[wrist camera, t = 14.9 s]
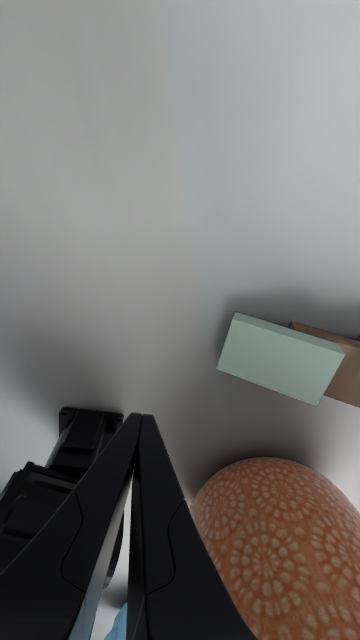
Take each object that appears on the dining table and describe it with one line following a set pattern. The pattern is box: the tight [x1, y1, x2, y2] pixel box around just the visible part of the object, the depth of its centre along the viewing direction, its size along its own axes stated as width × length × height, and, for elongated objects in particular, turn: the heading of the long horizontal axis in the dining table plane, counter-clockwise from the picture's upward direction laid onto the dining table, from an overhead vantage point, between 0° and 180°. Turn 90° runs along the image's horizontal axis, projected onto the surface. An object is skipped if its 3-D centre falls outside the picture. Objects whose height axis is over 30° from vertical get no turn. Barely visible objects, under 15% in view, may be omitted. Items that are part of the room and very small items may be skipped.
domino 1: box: [216, 312, 345, 406], centre depth 21 cm, size 2×5×8 cm
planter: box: [189, 457, 360, 640], centre depth 23 cm, size 21×21×19 cm
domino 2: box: [289, 322, 360, 408], centre depth 21 cm, size 2×5×8 cm
